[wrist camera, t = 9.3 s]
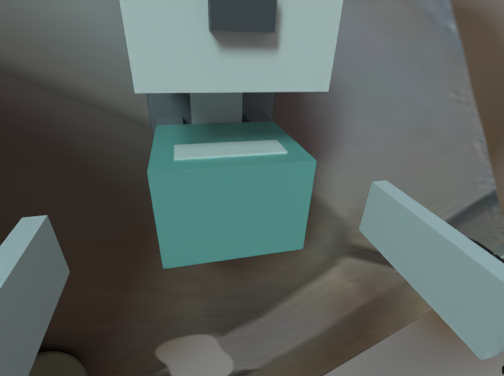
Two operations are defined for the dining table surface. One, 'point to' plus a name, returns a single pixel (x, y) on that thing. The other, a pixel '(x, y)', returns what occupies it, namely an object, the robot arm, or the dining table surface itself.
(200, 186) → the block
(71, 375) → the ceramic mug
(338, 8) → the board
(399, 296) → the dining table surface
